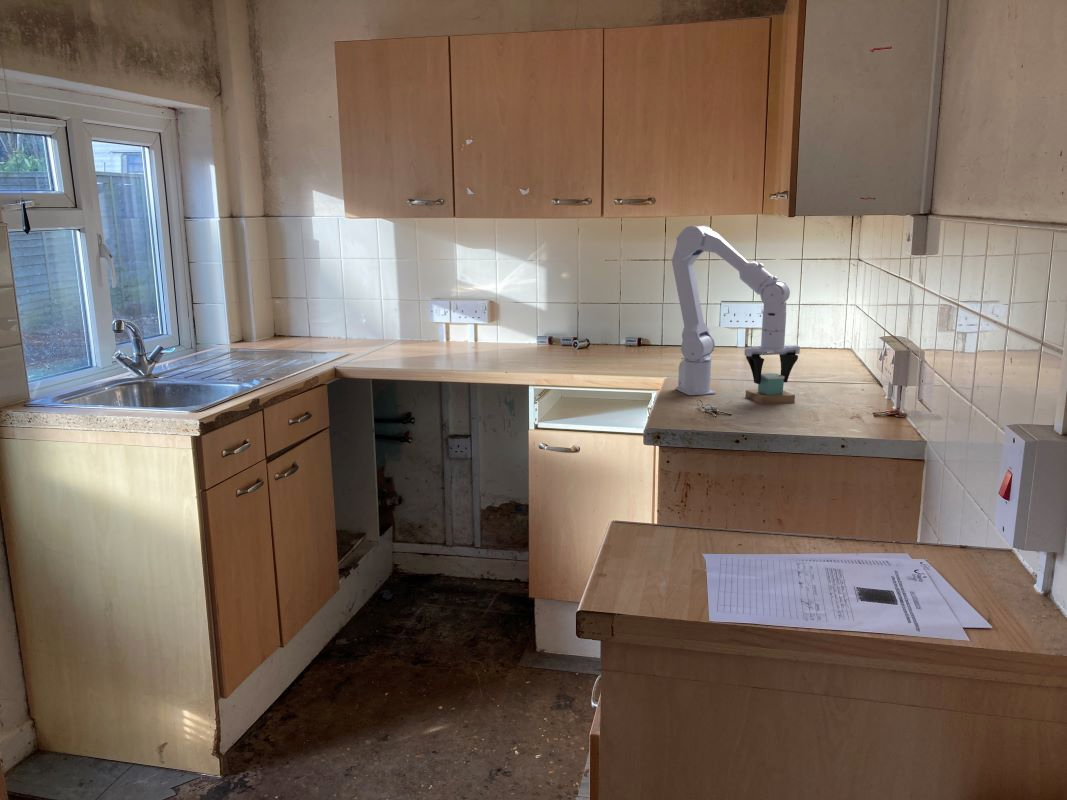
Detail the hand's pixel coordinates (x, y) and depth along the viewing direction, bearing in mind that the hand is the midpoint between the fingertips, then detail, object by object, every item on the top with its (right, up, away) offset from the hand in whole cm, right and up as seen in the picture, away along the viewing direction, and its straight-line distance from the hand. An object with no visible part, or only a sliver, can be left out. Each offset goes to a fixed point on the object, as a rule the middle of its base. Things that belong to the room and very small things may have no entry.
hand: (770, 382), depth 213 cm
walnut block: (0, -5, +1) cm, 5 cm away
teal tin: (0, -3, 0) cm, 3 cm away
